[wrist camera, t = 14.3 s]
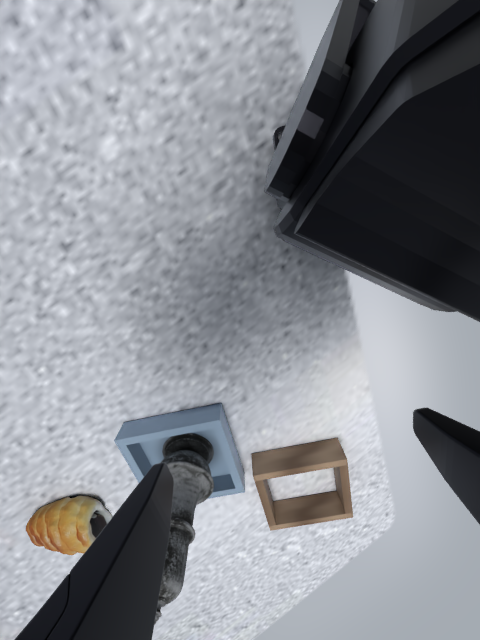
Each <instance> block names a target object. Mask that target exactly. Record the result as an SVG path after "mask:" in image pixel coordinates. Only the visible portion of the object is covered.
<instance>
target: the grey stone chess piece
mask: <svg viewBox="0 0 480 640" xmlns="http://www.w3.org/2000/svg"><path fill="white" fill-rule="evenodd" d="M162 453H163V457H164V459H163V460H162V461H161V462H160V463H162V462H165V463H166V464H167V466H168V468H169V470H170V472H171V474H172V476H173V480H174V487H173V500H172V513H171V525H170V534H169V541H168V547H167V552H166V558H165V564H164V570H163V576H162V582H161V587H160V593H159V599H158V605H157V611H156V617H155V622H154V624H155V623H156V621H158V619H159V617H160V616H161V612H160V609H161V607H164V606H165V605H166V604H168V603H170V602H172V601H173V600H174V599H176V598H177V596H178V595H179V593H180V592H181V589H182V586H183V582H184V575H185V568H186V561H187V553H188V546H189V544H190V543H192V541H193V540H194V538H195V530H194V529H193V527H192V525H193V518H194V511H195V507H196V505H197V504H199V503H202V502H204V501H205V500H206V499H207V498H209V497H210V495H211V494H212V492H213V489H214V481H213V478H212V476H211V471H210V468H209V465H208V464H209V463H210V462H211V460H212V459H213V455H214V450H213V446H212V445H211V443H210V442H209V441H208V440H207V439H206V438H204V437H203V436H201V435H198V434H195V433H186V434H181V435H176V436H171V437H170V438H169V439H168V440H166V441H165V443H164V445H163V450H162Z"/></svg>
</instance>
